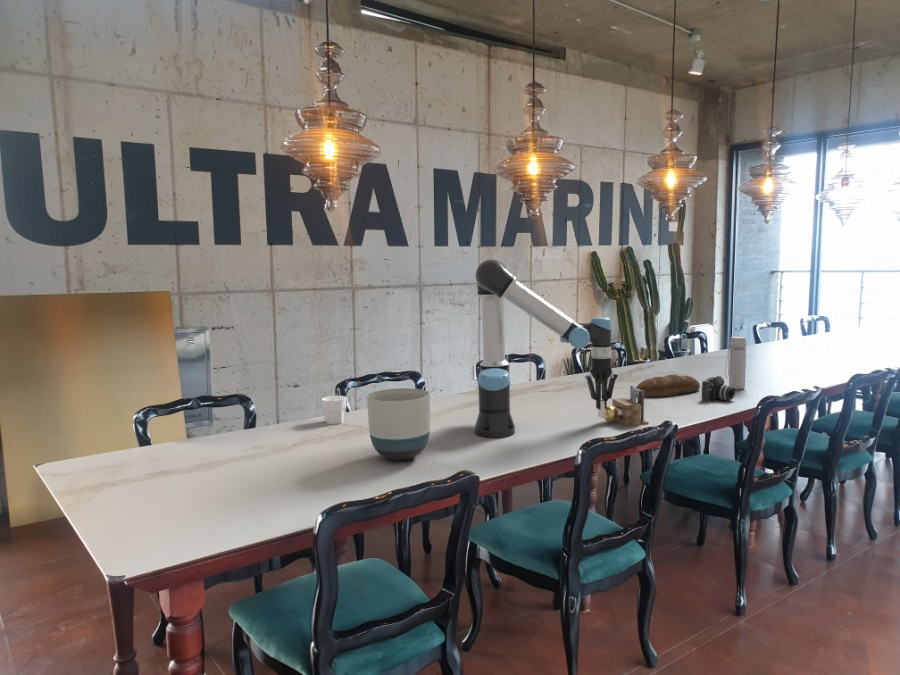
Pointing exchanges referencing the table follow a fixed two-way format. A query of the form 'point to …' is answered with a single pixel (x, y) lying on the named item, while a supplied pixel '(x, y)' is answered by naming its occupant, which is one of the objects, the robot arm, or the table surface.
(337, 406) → the cup
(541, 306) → the robot arm
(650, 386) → the bread
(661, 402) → the table surface
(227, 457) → the table surface
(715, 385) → the camera
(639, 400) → the keeper
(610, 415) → the pin
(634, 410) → the block
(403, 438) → the planter
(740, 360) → the water bottle
